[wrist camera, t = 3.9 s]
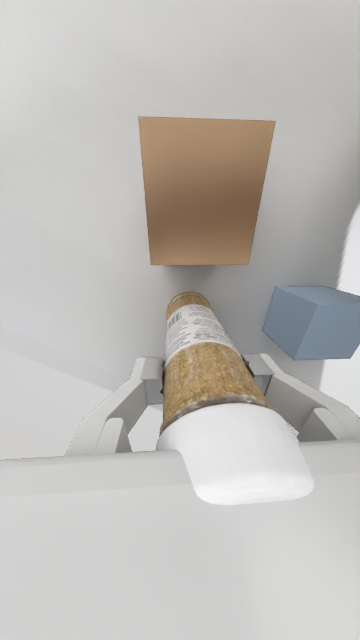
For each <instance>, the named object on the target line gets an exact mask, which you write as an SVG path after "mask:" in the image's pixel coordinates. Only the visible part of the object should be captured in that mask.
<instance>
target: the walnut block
mask: <svg viewBox="0 0 360 640" xmlns="http://www.w3.org/2000/svg"><path fill="white" fill-rule="evenodd" d="M138 118H139V130H140V142H141V154H142V166H143V178H144V190H145V202H146V214H147V226H148V238H149V250H150V261H151V265H237V264H248V263H249V258H250V253H251V247H252V242H253V237H254V231H255V226H256V221H257V216H258V210H259V205H260V200H261V195H262V189H263V184H264V179H265V174H266V168H267V163H268V158H269V153H270V147H271V142H272V137H273V132H274V126H275V121H263V120H232V119H201V118H170V117H139V116H138Z"/></svg>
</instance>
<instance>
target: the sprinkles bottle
mask: <svg viewBox="0 0 360 640" xmlns="http://www.w3.org/2000/svg"><path fill="white" fill-rule="evenodd" d="M166 313H167V325H166V336H165V352H164V372H163V377H164V402H163V424H162V425H161V428H160V436H159V439H158V442H157V446H156V451H159V450H177V451H179V452H180V453H181V454H182V456H183V458H184V462H185V464H186V467H187V470H188V473H189V476H190V479H191V481H192V484H193V488H194V490H195V492H196V495H197V496H198V497H199V498H201V499H202V500H203V501H206V502H208V503H211V504H219V505H240V504H253V503H266V502H276V501H285V500H294V499H297V498H301V497H304V496H306V495H308V494H310V493H311V491H312V490H313V488H314V480H313V478H312V475H311V472H310V470H309V467H308V465H307V463H306V461H305V459H304V457H303V454H302V452H301V450H300V448H299V445H298V442H299V441H298V439H297V438H296V436H295V434H294V433H293V431H292V430H291V428H290V427H289V425H288V424H287V422H286V421H285V419H284V418H283V417H282V416H280V415H279V414H278V413H277V412H276V410H275V409H274V407H273V406H271V405H270V404H269V403H268V402H267V401H266V399H265V397H264V396H263V395H262V392H261V391H260V389H259V387H258V386H257V385H256V383H255V381H254V379H253V378H252V376H251V374H250V373H249V371H248V369H247V368H246V366H245V365H244V362H243V360H242V357H241V356H240V354H239V353H238V351H237V349H236V348H235V346H234V344H233V343H232V341H231V339H230V338H229V336H228V335H227V333H226V332H225V330H224V328H223V327H222V325H221V323H220V322H219V320H218V319H217V317H216V315H215V314H214V313H213V312H212V310H211V309H210V306H209V303H208V301H207V300H206V299H205V298H204V297H203V296H201V295H200V294H197V293H194V292H186V293H182V294H180V295H178V296H176V297H175V298H174V299H172V301H171V302H170V303H169V305H168V308H167V312H166Z"/></svg>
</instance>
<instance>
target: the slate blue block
mask: <svg viewBox="0 0 360 640" xmlns="http://www.w3.org/2000/svg"><path fill="white" fill-rule="evenodd" d="M263 331H264V332H265V333H266V334H267V335H268V336H269V337H270V338H271V339H272V340H273V341H274V342H275V343H276V344H277V345H278V346H279V347H280V348H282V349H283V350H284V351H285V352H286V353H287V354H288V355H289V356H290V357H291V358H292V359H293V360H319V359H349V358H351V356H352V355H353V353H354V352H355V350H356V349H357V347H358V346H359V344H360V296H357V295H354V294H350V293H346V292H343V291H340V290H336V289H332V288H329V287H325V286H291V287H275V289H274V293H273V296H272V300H271V303H270V307H269V310H268V314H267V317H266V321H265V324H264V328H263Z"/></svg>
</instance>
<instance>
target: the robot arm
mask: <svg viewBox="0 0 360 640" xmlns="http://www.w3.org/2000/svg"><path fill="white" fill-rule="evenodd" d="M240 356H241V357H242V360H243V362H244V365H245V366H246V368H247V369H248V371H249V373H250V374H251V376H252V378H253V379H254V381H255V383H256V385H257V386H258V387H259V389H260V391H261V392H262V395H263V396H264V397H265V399H266V401H267V402H268V403H269V404H270V405H271V406H273V407H274V409H275V410H276V412H277V413H278V414H279V415H280V416H282V417H283V418H284V419H285V420H286V421H287V422H288V423H289V424H290V425H291V426H292V427H294V428H295V429H296V430H297V431H298V432H299V433H298V435H297V437H296V438H297V439H298V441H299V442H298V445H299V448H300V450H301V452H302V454H303V457H304V459H305V461H306V463H307V465H308V467H309V470H310V472H311V475H312V478H313V480H314V488H313V490H312V491H311V493H310V494H308V495H306V496H304V497H301V498H297V499H294V500H285V501H276V502H266V503H253V504H240V505H219V504H211V503H208V502H206V501H203V500H202V499H201V498H199V497H198V496H197V495H196V492H195V490H194V488H193V484H192V481H191V479H190V476H189V473H188V470H187V467H186V464H185V462H184V458H183V456H182V454H181V453H180V452H179V451H177V450H159V451H143V452H132V450H131V446H130V443H129V439H128V436H127V435H128V433H129V432H130V431H131V429H132V427H133V426H134V425H135V423H136V422H137V420H138V419H139V418H140V416H141V415H142V413H143V412H144V410H145V409H146V407H147V405H155V404H163V402H164V377H163V372H164V357H137V358H136V360H135V363H134V367H133V370H132V373H131V376H130V379H129V380H127V381H125V382H124V383H123V384H122V385H121V386H120V387H118V388H117V389H116V390H115V391H114V392H113V393H112V394H110V395H109V396H108V397H107V398H106V399H105V400H104V401H103V402H101V403H100V404H99V405H98V406H97V407H96V408H95V409H94V410H92V411H91V412H90V413H89V414H88V415H87V416H86V417H84V419H83V420H82V422H81V424H80V426H79V428H78V430H77V433H76V434H75V436H74V438H73V440H72V442H71V444H70V446H69V448H68V450H67V452H66V454H65V456H57V457H39V458H22V459H5V460H0V640H360V417H358V416H357V415H356V414H355V413H354V412H353V411H352V410H351V409H350V408H349V407H348V406H346V405H344V404H342V403H341V402H339V401H337V400H335V399H333V398H331V397H330V396H328V395H326V394H324V393H322V392H320V391H318V390H317V389H315V388H313V387H311V386H309V385H307V384H305V383H304V382H302V381H300V380H298V379H296V378H294V377H292V376H291V375H289V374H285V373H284V372H283V371H282V370H281V369H280V367H279V366H278V365H277V364H276V363H275V362H274V361H273V359H272V358H271V357H270V356H269V355H268V354H266V353H263V354H243V355H240Z"/></svg>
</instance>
